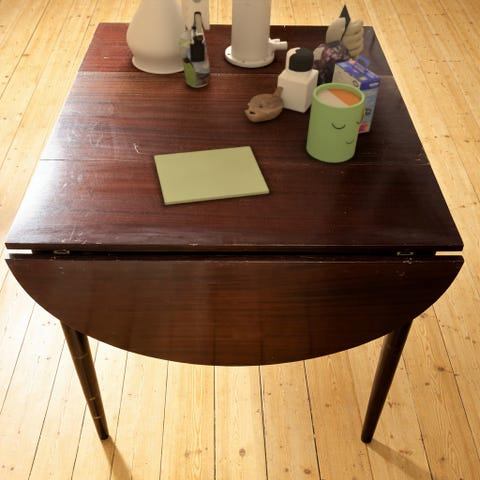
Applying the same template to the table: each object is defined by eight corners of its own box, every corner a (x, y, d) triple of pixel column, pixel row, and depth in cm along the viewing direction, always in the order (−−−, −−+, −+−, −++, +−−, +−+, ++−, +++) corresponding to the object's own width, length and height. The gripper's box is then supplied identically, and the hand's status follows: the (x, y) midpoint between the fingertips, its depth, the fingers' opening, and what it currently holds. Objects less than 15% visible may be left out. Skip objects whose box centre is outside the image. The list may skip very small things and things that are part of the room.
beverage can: (207, 92, 144) (207, 41, 135) (177, 88, 145) (175, 37, 136) (213, 79, 148) (213, 29, 139) (184, 75, 149) (182, 25, 140)
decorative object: (350, 60, 162) (355, 78, 155) (314, 49, 160) (318, 66, 153) (372, 12, 153) (379, 29, 146) (334, -1, 151) (339, 15, 144)
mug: (325, 168, 123) (333, 113, 115) (297, 143, 130) (303, 89, 121) (374, 153, 128) (386, 99, 119) (345, 129, 134) (354, 76, 125)
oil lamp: (259, 131, 132) (260, 110, 129) (234, 118, 136) (234, 97, 132) (297, 110, 139) (299, 89, 135) (272, 98, 142) (274, 78, 139)
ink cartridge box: (371, 131, 134) (384, 66, 123) (350, 137, 132) (362, 71, 121) (345, 111, 140) (356, 47, 129) (325, 116, 138) (334, 52, 127)
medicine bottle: (315, 99, 143) (321, 48, 134) (304, 113, 138) (310, 61, 129) (286, 92, 145) (291, 41, 136) (275, 106, 140) (279, 54, 131)
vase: (198, 45, 161) (195, -62, 143) (197, 76, 149) (194, -37, 131) (131, 44, 160) (120, -64, 142) (125, 75, 148) (112, -39, 130)
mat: (249, 148, 128) (249, 146, 127) (268, 193, 117) (269, 190, 117) (154, 158, 124) (153, 155, 124) (165, 205, 114) (165, 202, 113)
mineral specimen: (306, 61, 152) (327, 25, 145) (341, 83, 153) (364, 48, 146) (298, 77, 145) (319, 40, 138) (335, 100, 147) (358, 65, 140)
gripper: (218, -17, 123) (218, 70, 136) (203, -45, 134) (204, 38, 148) (181, -15, 122) (184, 72, 135) (169, -44, 133) (173, 40, 146)
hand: (195, 54), depth 141 cm, fingers closed on beverage can, 6 cm apart
